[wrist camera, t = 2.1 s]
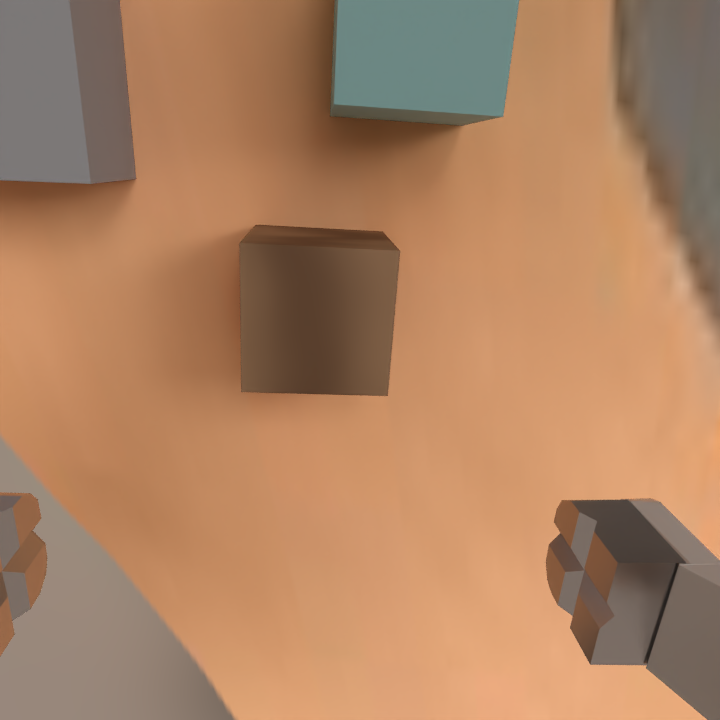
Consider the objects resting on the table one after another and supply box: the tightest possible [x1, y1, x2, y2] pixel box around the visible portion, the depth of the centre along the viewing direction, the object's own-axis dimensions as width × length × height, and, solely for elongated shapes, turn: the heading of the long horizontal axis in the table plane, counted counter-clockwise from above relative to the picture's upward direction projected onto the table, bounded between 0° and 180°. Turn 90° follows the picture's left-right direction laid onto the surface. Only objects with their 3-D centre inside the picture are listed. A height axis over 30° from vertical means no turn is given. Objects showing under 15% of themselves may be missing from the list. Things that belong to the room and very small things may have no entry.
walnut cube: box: [240, 225, 400, 396], centre depth 22 cm, size 6×6×6 cm
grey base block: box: [0, 0, 136, 184], centre depth 19 cm, size 7×7×5 cm
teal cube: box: [330, 0, 519, 126], centre depth 19 cm, size 6×6×6 cm
